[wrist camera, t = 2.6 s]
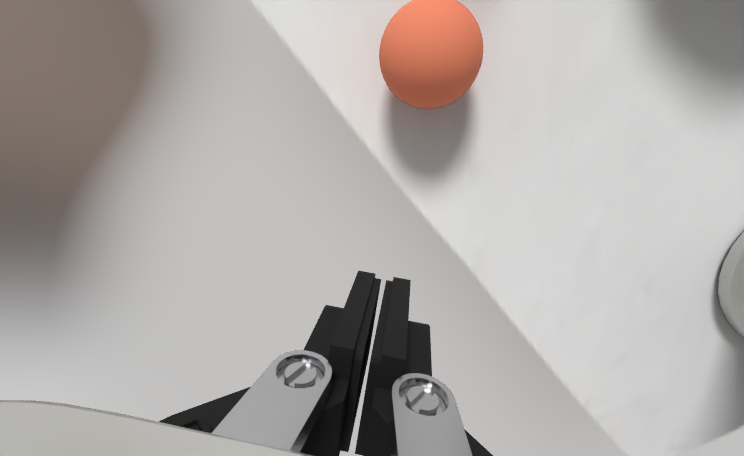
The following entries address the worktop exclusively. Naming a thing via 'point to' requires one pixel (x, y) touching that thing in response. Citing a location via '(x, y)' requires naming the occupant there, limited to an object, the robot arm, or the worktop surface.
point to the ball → (431, 52)
